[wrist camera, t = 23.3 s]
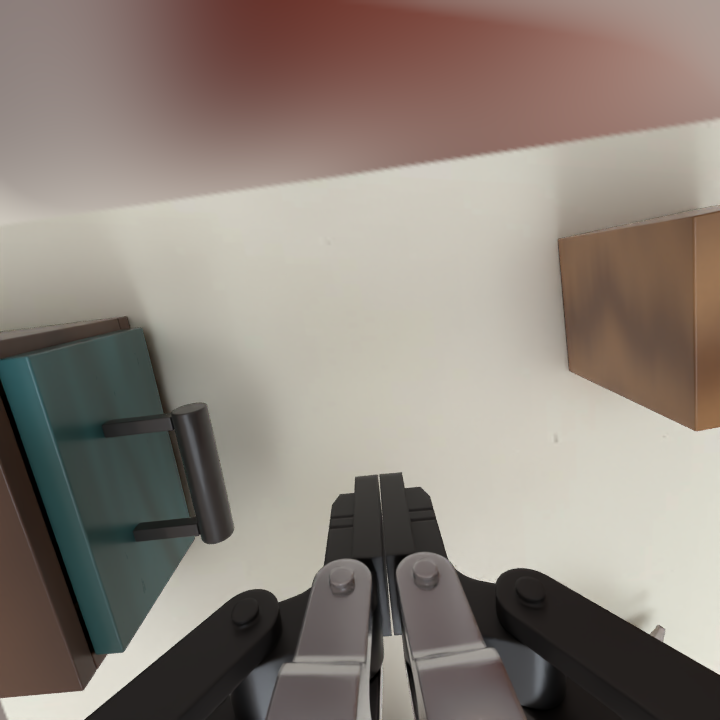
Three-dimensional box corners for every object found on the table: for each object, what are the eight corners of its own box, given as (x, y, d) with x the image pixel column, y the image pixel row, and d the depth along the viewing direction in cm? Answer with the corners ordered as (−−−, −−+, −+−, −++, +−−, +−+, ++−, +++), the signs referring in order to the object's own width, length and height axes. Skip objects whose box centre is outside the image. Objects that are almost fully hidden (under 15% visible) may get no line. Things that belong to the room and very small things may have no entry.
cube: (557, 238, 19) (693, 216, 11) (700, 208, 19) (944, 162, 11) (569, 371, 21) (695, 432, 13) (701, 345, 20) (915, 391, 12)
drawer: (226, 316, 19) (154, 341, 12) (268, 531, 22) (228, 643, 15) (-57, 351, 20) (-272, 391, 13) (20, 556, 22) (-124, 676, 16)
